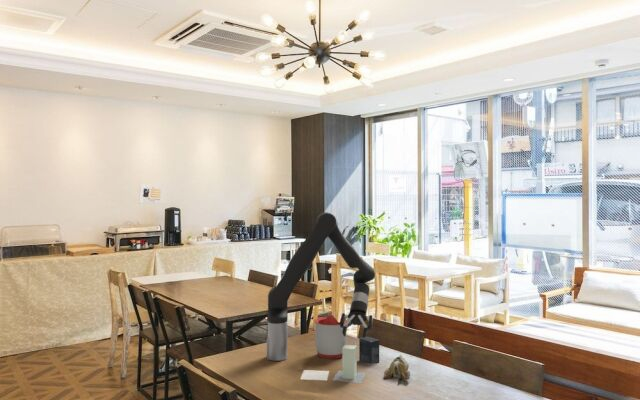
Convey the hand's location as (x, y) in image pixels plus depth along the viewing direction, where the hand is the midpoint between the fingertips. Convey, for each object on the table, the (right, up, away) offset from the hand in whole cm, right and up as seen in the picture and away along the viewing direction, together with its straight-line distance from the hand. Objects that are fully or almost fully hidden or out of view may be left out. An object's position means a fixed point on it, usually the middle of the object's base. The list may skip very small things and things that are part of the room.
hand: (354, 336), depth 212 cm
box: (+8, -16, +14) cm, 23 cm away
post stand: (-2, -15, -8) cm, 18 cm away
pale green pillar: (-2, -14, -8) cm, 17 cm away
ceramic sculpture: (+18, -16, -6) cm, 25 cm away
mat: (-17, -15, -7) cm, 24 cm away
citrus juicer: (-9, -16, +23) cm, 29 cm away
